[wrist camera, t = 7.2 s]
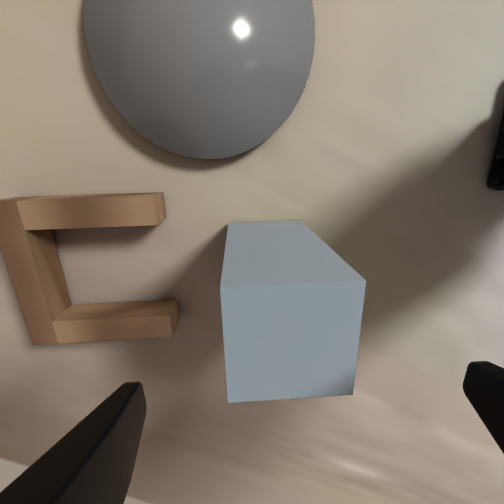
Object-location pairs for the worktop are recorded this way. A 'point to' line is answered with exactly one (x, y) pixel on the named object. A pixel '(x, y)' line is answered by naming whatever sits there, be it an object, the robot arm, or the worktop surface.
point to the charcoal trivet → (202, 68)
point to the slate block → (288, 314)
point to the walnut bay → (51, 274)
